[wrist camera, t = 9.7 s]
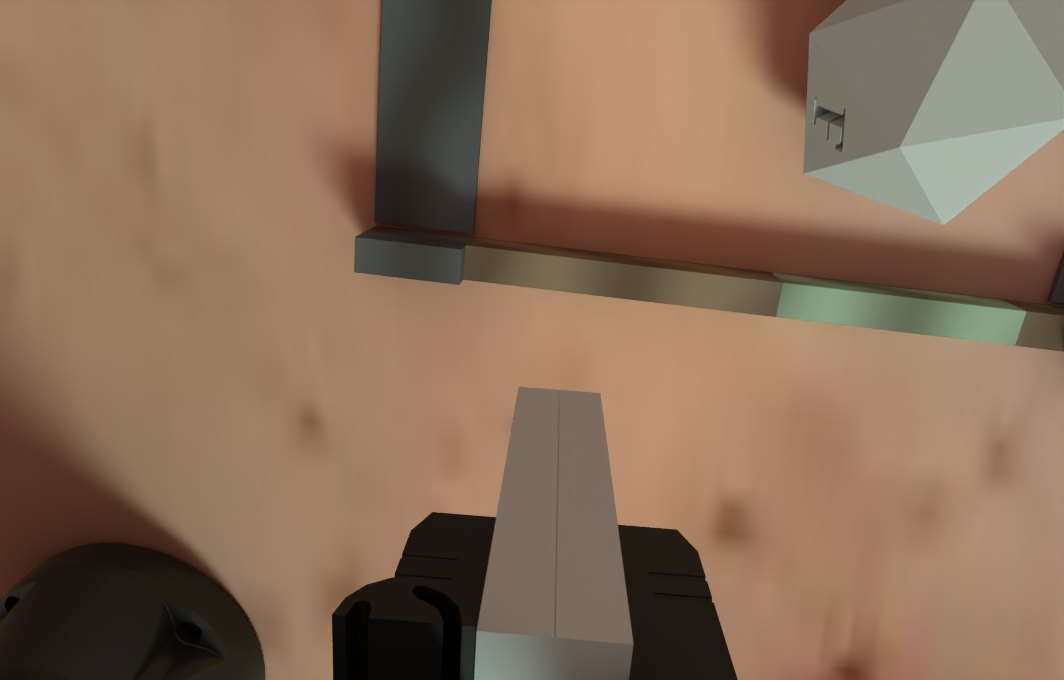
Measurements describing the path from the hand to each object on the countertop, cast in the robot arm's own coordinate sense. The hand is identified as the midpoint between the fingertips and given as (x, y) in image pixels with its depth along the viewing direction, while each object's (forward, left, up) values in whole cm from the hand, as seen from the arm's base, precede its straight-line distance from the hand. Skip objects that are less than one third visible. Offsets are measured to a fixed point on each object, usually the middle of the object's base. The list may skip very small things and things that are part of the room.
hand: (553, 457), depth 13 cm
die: (+12, +8, -20) cm, 25 cm away
